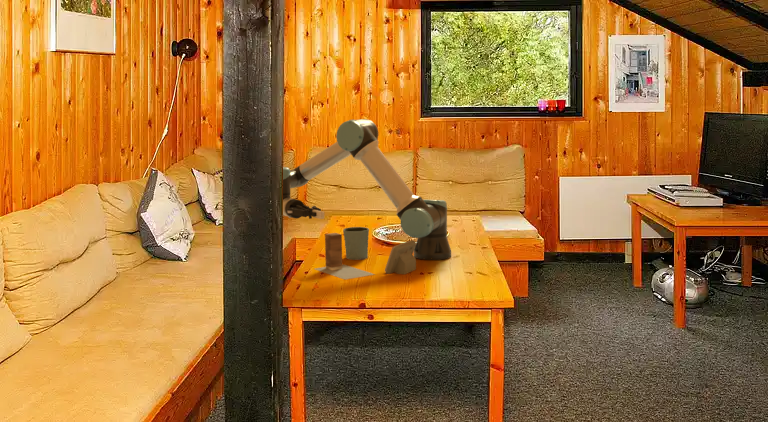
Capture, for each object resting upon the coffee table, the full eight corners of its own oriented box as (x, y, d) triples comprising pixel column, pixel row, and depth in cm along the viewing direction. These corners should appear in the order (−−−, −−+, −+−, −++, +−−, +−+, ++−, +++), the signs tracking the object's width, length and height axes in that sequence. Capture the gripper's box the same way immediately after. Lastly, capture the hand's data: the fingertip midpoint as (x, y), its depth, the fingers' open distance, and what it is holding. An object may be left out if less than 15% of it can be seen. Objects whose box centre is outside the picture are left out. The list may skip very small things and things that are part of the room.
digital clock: (405, 265, 310) (405, 238, 308) (424, 269, 304) (424, 241, 302) (377, 273, 298) (377, 244, 296) (396, 276, 292) (396, 247, 290)
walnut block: (325, 268, 305) (324, 234, 303) (336, 266, 308) (335, 232, 306) (332, 270, 301) (331, 235, 299) (342, 268, 304) (341, 234, 302)
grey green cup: (373, 257, 326) (373, 227, 325) (362, 262, 317) (361, 231, 315) (351, 255, 331) (350, 226, 329) (339, 260, 321) (338, 230, 320)
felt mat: (313, 269, 304) (313, 268, 304) (343, 265, 312) (343, 264, 312) (344, 280, 287) (344, 279, 286) (375, 275, 294) (375, 274, 294)
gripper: (307, 215, 331) (337, 223, 312) (278, 218, 324) (307, 226, 304) (306, 197, 330) (337, 204, 311) (278, 200, 323) (307, 207, 303)
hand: (322, 215), depth 308 cm, fingers closed
